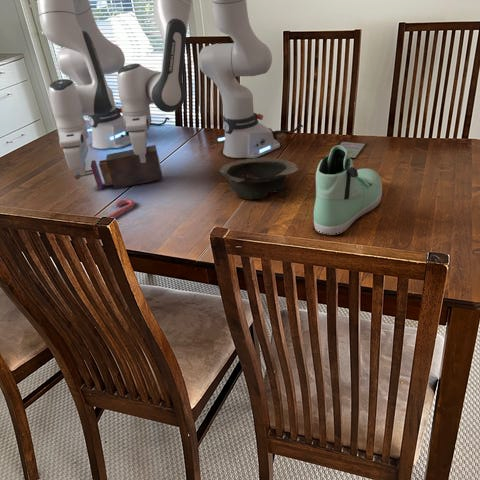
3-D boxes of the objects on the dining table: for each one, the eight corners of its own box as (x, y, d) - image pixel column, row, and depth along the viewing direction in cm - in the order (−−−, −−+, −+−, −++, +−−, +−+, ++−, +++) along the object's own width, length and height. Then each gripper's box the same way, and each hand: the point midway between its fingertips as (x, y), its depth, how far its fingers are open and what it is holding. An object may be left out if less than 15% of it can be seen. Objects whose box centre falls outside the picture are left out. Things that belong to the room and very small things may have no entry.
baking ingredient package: (331, 154, 173) (342, 141, 184) (330, 155, 173) (342, 142, 185) (355, 156, 169) (365, 143, 181) (355, 158, 170) (365, 144, 181)
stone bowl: (243, 213, 140) (240, 183, 136) (209, 189, 160) (205, 162, 156) (313, 190, 149) (312, 161, 144) (272, 170, 169) (270, 144, 165)
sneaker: (389, 187, 148) (396, 123, 138) (356, 242, 123) (361, 168, 112) (346, 181, 154) (350, 119, 144) (306, 232, 129) (307, 161, 118)
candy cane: (88, 221, 143) (87, 216, 143) (125, 200, 153) (124, 196, 153) (102, 225, 140) (101, 221, 139) (138, 204, 150) (137, 200, 150)
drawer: (79, 192, 161) (71, 169, 157) (81, 187, 165) (73, 164, 161) (143, 179, 163) (137, 156, 159) (143, 174, 167) (137, 151, 162)
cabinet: (114, 189, 162) (105, 160, 157) (115, 182, 167) (106, 154, 162) (162, 179, 164) (155, 150, 158) (162, 172, 168) (155, 144, 163)
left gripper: (68, 125, 162) (77, 164, 169) (58, 144, 144) (69, 186, 151) (87, 123, 162) (96, 162, 169) (79, 141, 145) (90, 184, 152)
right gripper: (128, 110, 163) (135, 148, 170) (125, 128, 146) (132, 170, 153) (147, 108, 164) (153, 147, 171) (146, 126, 146) (152, 168, 153)
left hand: (83, 173), depth 160 cm, fingers closed, pressing on drawer
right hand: (143, 158), depth 162 cm, fingers closed on cabinet, 6 cm apart
